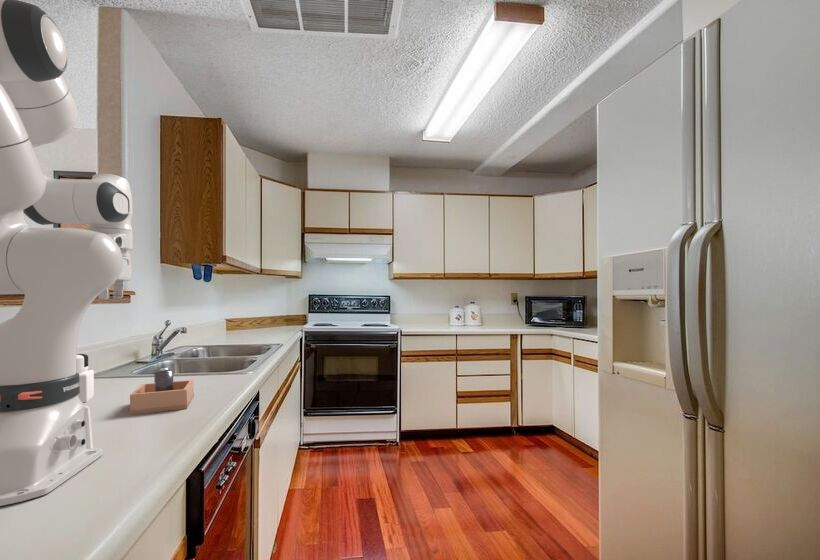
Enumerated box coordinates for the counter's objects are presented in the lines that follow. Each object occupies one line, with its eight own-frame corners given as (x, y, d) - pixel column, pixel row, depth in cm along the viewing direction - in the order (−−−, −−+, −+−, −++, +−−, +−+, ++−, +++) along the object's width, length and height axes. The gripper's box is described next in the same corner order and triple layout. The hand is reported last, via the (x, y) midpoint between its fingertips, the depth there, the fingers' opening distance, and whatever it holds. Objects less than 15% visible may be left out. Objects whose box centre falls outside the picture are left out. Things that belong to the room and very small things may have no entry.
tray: (186, 408, 100) (186, 389, 100) (130, 414, 96) (129, 394, 96) (193, 396, 111) (193, 379, 111) (142, 401, 107) (142, 383, 107)
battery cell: (171, 402, 102) (171, 369, 102) (152, 403, 101) (152, 370, 101) (174, 397, 106) (174, 366, 106) (156, 399, 104) (156, 367, 104)
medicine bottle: (61, 399, 110) (60, 353, 110) (94, 396, 113) (94, 351, 113) (51, 406, 104) (51, 357, 104) (87, 402, 107) (86, 355, 107)
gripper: (111, 246, 111) (111, 298, 111) (78, 237, 92) (78, 300, 92) (138, 246, 113) (138, 297, 113) (111, 237, 94) (111, 299, 94)
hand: (111, 298), depth 102 cm, fingers open, 8 cm apart
